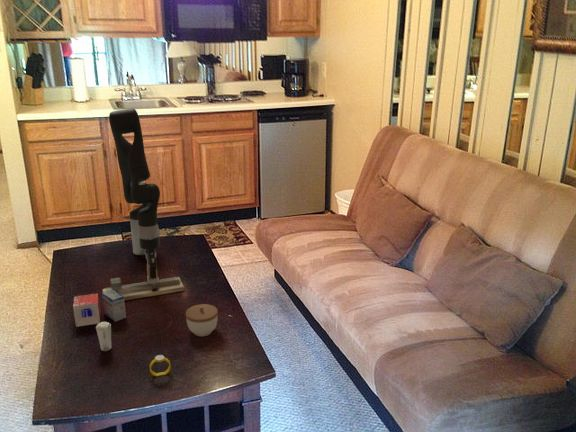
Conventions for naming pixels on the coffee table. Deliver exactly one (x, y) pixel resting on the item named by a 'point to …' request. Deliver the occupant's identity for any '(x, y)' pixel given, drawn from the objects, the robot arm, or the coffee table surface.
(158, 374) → the gold diamond ring
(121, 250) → the coffee table surface
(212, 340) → the coffee table surface
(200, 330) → the lidded jar
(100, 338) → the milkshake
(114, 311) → the medicine box
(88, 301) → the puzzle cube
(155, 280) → the block
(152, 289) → the bolt-hole plate
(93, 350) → the coffee table surface
